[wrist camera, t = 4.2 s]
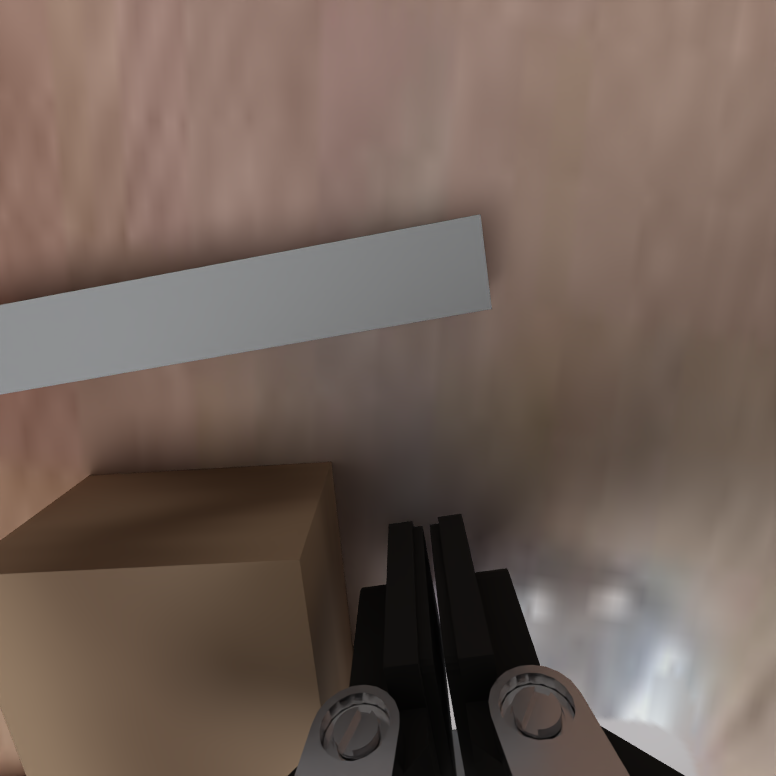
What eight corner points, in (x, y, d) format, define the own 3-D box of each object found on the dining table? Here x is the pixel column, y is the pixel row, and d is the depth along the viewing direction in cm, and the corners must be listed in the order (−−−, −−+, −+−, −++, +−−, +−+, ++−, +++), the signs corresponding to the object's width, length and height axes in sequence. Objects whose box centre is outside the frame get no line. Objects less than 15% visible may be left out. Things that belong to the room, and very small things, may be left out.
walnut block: (332, 458, 12) (299, 559, 8) (355, 656, 13) (336, 820, 10) (93, 472, 12) (-50, 576, 8) (144, 664, 14) (44, 827, 10)
